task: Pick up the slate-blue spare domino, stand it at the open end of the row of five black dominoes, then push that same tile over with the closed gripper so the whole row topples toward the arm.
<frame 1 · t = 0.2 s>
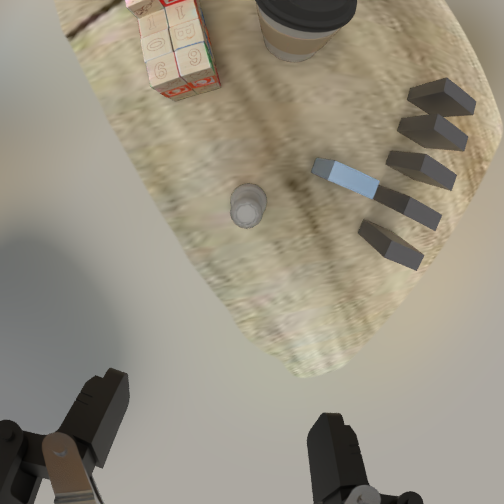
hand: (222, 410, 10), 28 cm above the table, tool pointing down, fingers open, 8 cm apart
domino 3: (402, 165, 33), on the table
coffee cup: (291, 39, 28), on the table
rook chess piece: (248, 200, 36), on the table
domino 1: (422, 103, 30), on the table
domino 5: (375, 232, 36), on the table
domino 2: (413, 133, 31), on the table
domino 4: (389, 198, 35), on the table
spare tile: (331, 172, 34), on the table
stack of blocks: (183, 28, 28), on the table
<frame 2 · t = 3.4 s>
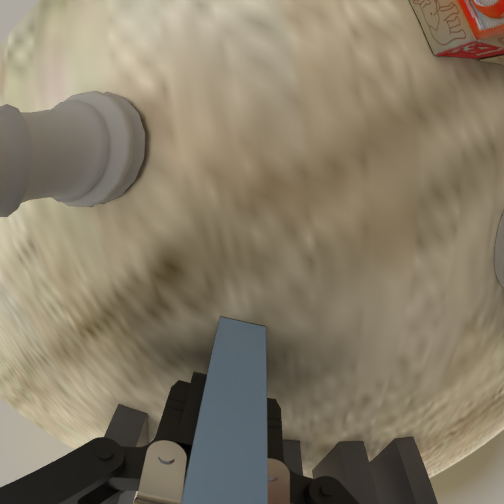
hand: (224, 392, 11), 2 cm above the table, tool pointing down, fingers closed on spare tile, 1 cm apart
domino 3: (274, 455, 16), on the table
rook chess piece: (103, 147, 10), on the table
domino 1: (387, 453, 17), on the table
domino 5: (134, 427, 16), on the table
domino 2: (336, 457, 17), on the table
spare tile: (231, 362, 13), on the table, touching gripper
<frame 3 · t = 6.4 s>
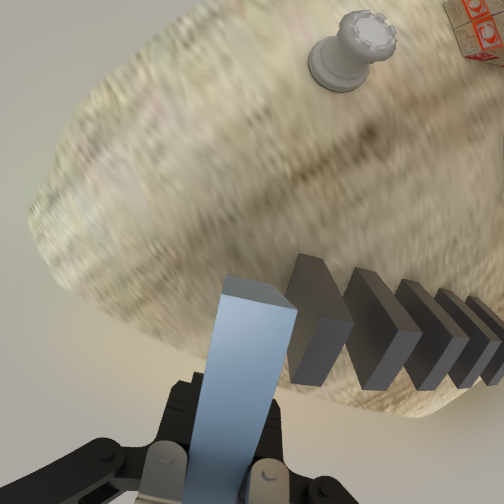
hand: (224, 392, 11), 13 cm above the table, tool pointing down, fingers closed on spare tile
domino 3: (399, 304, 24), on the table
rook chess piece: (335, 67, 17), on the table
domino 1: (463, 316, 24), on the table
domino 5: (301, 283, 23), on the table
domino 2: (435, 311, 24), on the table
domino 4: (355, 295, 24), on the table
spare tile: (253, 288, 10), point 12 cm above the table, tilted 70°, touching gripper
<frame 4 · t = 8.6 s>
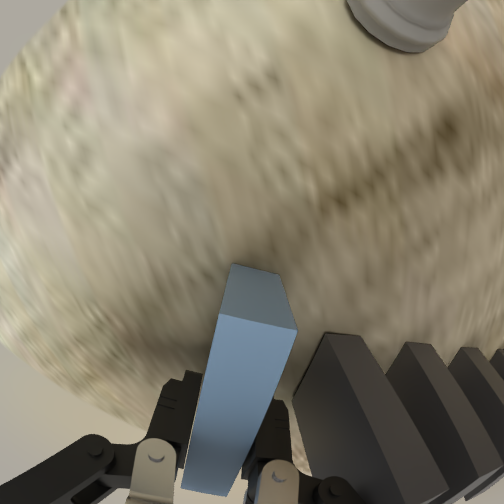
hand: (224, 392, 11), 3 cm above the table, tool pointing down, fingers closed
domino 3: (450, 376, 14), on the table
rook chess piece: (389, 13, 8), on the table
domino 5: (324, 371, 14), on the table, tilted 8°, touching hand
domino 2: (486, 374, 15), on the table
domino 4: (398, 375, 14), on the table
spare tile: (257, 289, 9), point 2 cm above the table, tilted 81°
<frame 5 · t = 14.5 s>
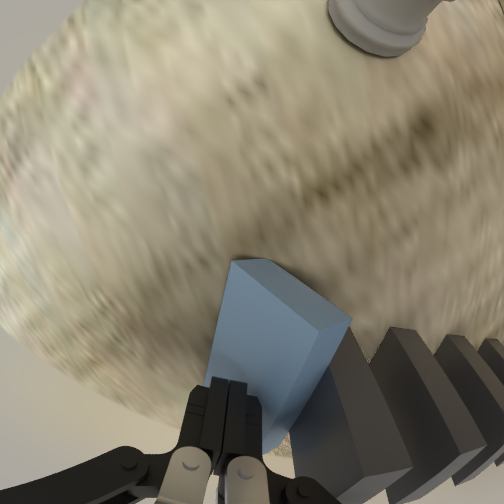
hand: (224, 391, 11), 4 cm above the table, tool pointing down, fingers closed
domino 3: (438, 363, 16), on the table
rook chess piece: (369, 21, 9), on the table
domino 5: (312, 353, 15), on the table, touching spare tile
domino 2: (475, 364, 16), on the table
domino 4: (384, 360, 15), on the table
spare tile: (288, 288, 11), point 2 cm above the table, tilted 90°, touching domino 5
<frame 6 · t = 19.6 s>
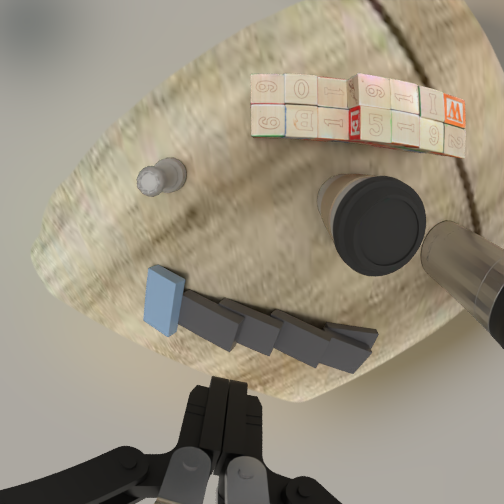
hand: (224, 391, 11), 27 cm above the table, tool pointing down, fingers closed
domino 3: (268, 325, 41), point 1 cm above the table, tilted 63°, touching domino 2, domino 4
coffee cup: (342, 200, 35), on the table
rook chess piece: (171, 174, 34), on the table
domino 1: (321, 336, 42), on the table, tilted 90°, touching domino 2
domino 5: (182, 306, 40), point 1 cm above the table, tilted 68°, touching domino 4
domino 2: (315, 343, 40), point 2 cm above the table, tilted 90°, touching domino 1, domino 3
domino 4: (218, 314, 40), point 1 cm above the table, tilted 72°, touching domino 3, domino 5
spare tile: (166, 273, 37), point 2 cm above the table, tilted 90°
stack of blocks: (338, 119, 32), on the table
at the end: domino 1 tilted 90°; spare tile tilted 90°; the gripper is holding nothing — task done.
